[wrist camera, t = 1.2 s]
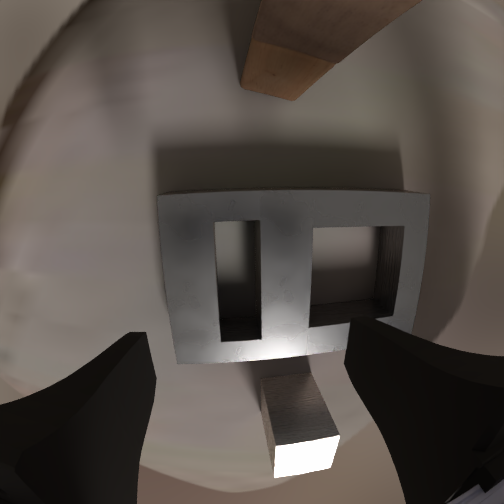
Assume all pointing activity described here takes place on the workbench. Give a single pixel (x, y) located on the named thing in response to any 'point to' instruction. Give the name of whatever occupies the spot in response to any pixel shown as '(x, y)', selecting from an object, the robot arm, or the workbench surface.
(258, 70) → the wooden stand
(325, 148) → the workbench surface
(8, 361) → the workbench surface
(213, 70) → the workbench surface
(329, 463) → the block
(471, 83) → the workbench surface
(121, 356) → the robot arm
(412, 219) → the socket plate
